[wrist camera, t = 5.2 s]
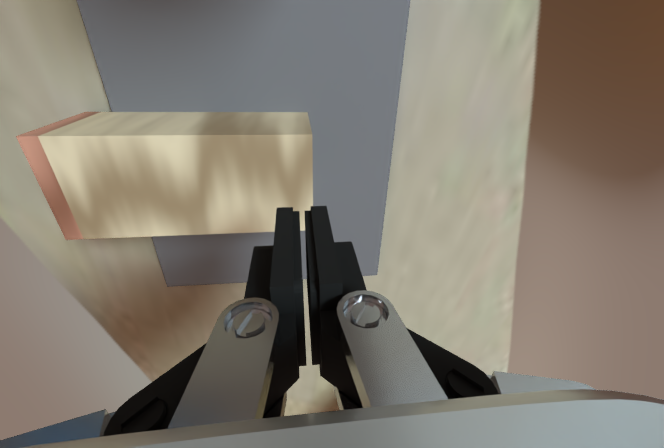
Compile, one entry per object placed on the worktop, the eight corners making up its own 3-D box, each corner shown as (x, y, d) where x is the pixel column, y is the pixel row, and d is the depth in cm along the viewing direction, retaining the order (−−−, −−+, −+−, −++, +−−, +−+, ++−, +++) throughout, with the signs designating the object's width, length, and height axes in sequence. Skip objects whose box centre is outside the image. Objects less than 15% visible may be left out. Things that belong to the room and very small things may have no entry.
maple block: (307, 112, 18) (85, 112, 17) (312, 134, 14) (16, 136, 13) (308, 190, 21) (115, 195, 20) (313, 230, 17) (66, 239, 15)
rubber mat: (62, -68, 14) (53, -72, 13) (412, -48, 16) (416, -51, 15) (169, 281, 24) (167, 286, 23) (375, 270, 26) (377, 275, 25)
